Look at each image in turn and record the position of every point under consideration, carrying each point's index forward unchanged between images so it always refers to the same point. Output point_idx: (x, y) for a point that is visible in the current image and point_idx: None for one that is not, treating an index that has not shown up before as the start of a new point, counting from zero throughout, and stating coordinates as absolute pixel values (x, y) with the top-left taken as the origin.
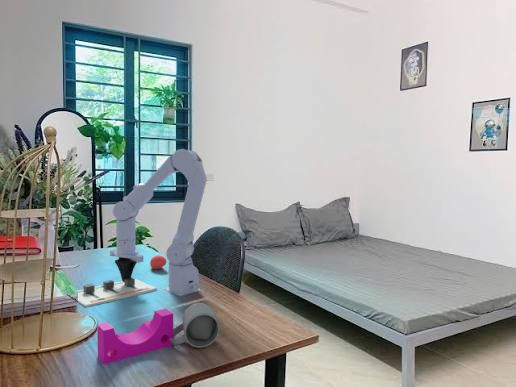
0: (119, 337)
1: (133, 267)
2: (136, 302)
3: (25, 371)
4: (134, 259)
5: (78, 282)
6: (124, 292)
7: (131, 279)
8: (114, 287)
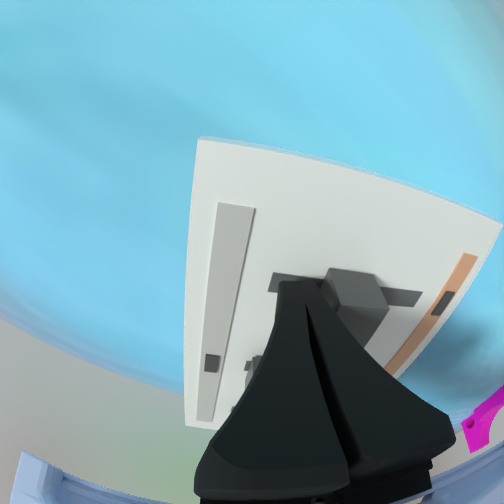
0: (484, 421)
1: (383, 377)
2: (461, 349)
3: None
4: (461, 478)
5: (48, 340)
6: (387, 354)
7: (375, 328)
8: None
